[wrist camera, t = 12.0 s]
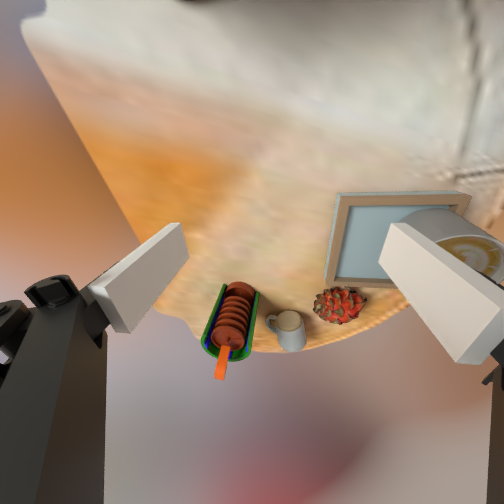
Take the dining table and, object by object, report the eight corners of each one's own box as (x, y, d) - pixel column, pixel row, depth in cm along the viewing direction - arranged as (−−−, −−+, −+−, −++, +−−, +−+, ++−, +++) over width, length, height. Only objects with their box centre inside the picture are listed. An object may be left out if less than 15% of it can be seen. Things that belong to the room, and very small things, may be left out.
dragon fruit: (305, 291, 50) (352, 279, 49) (315, 324, 49) (364, 313, 47) (309, 294, 42) (366, 280, 40) (321, 334, 41) (380, 321, 39)
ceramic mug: (301, 307, 51) (304, 331, 45) (305, 327, 55) (307, 353, 49) (263, 309, 54) (259, 333, 47) (269, 328, 58) (266, 353, 51)
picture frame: (334, 190, 36) (342, 198, 31) (445, 187, 33) (472, 196, 28) (322, 270, 45) (326, 285, 40) (407, 272, 42) (423, 289, 37)
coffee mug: (388, 214, 33) (407, 240, 25) (469, 201, 29) (524, 227, 20) (390, 278, 38) (406, 316, 30) (458, 275, 34) (498, 319, 26)
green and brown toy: (258, 282, 49) (246, 359, 32) (259, 307, 54) (249, 387, 36) (219, 280, 50) (188, 353, 33) (224, 305, 55) (198, 380, 38)
